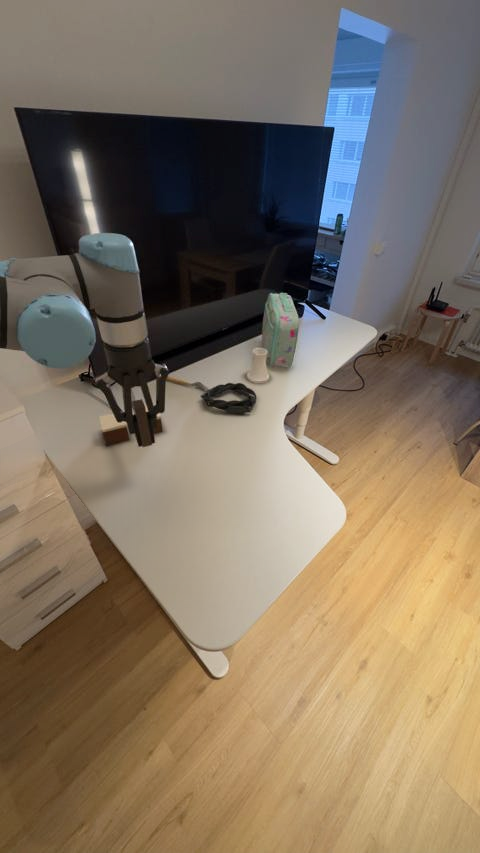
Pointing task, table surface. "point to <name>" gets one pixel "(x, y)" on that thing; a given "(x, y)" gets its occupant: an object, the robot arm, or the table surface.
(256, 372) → the vase
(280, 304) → the lunch box
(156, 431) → the cake slice
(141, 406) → the long brown beam
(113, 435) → the cake
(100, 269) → the robot arm
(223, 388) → the cable
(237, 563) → the table surface
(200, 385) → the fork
